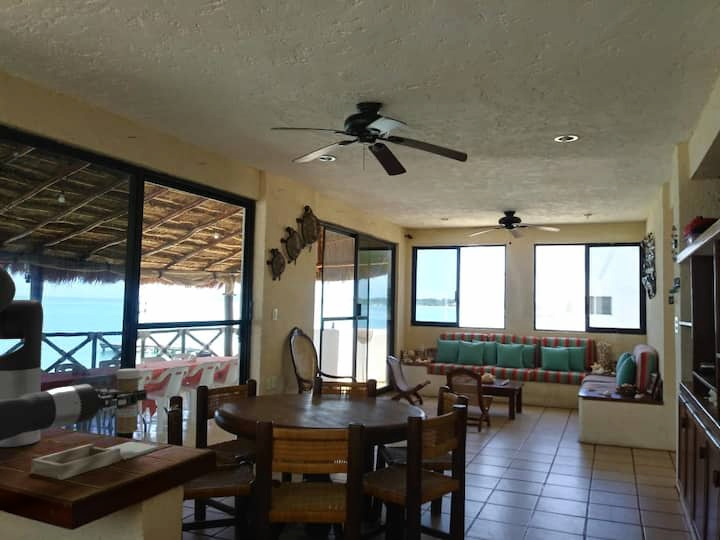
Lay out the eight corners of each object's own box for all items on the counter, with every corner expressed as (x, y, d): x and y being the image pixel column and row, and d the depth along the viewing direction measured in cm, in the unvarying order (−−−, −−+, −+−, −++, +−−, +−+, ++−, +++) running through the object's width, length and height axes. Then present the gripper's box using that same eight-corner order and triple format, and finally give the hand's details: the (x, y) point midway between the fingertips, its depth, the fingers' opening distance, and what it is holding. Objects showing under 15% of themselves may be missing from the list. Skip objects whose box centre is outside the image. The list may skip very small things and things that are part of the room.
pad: (124, 459, 118) (124, 456, 118) (95, 454, 122) (95, 451, 122) (158, 448, 126) (158, 446, 126) (130, 444, 130) (130, 441, 130)
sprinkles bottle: (114, 434, 121) (115, 370, 122) (117, 429, 126) (118, 368, 126) (137, 432, 123) (138, 369, 123) (139, 428, 127) (140, 367, 128)
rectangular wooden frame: (61, 479, 106) (61, 466, 106) (31, 472, 110) (31, 459, 110) (120, 461, 117) (120, 448, 117) (91, 455, 122) (91, 443, 122)
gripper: (90, 388, 109) (161, 378, 124) (44, 384, 116) (116, 374, 131) (90, 428, 108) (160, 413, 123) (44, 421, 115) (116, 407, 130)
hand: (137, 393), depth 127 cm, fingers closed on sprinkles bottle, 4 cm apart
